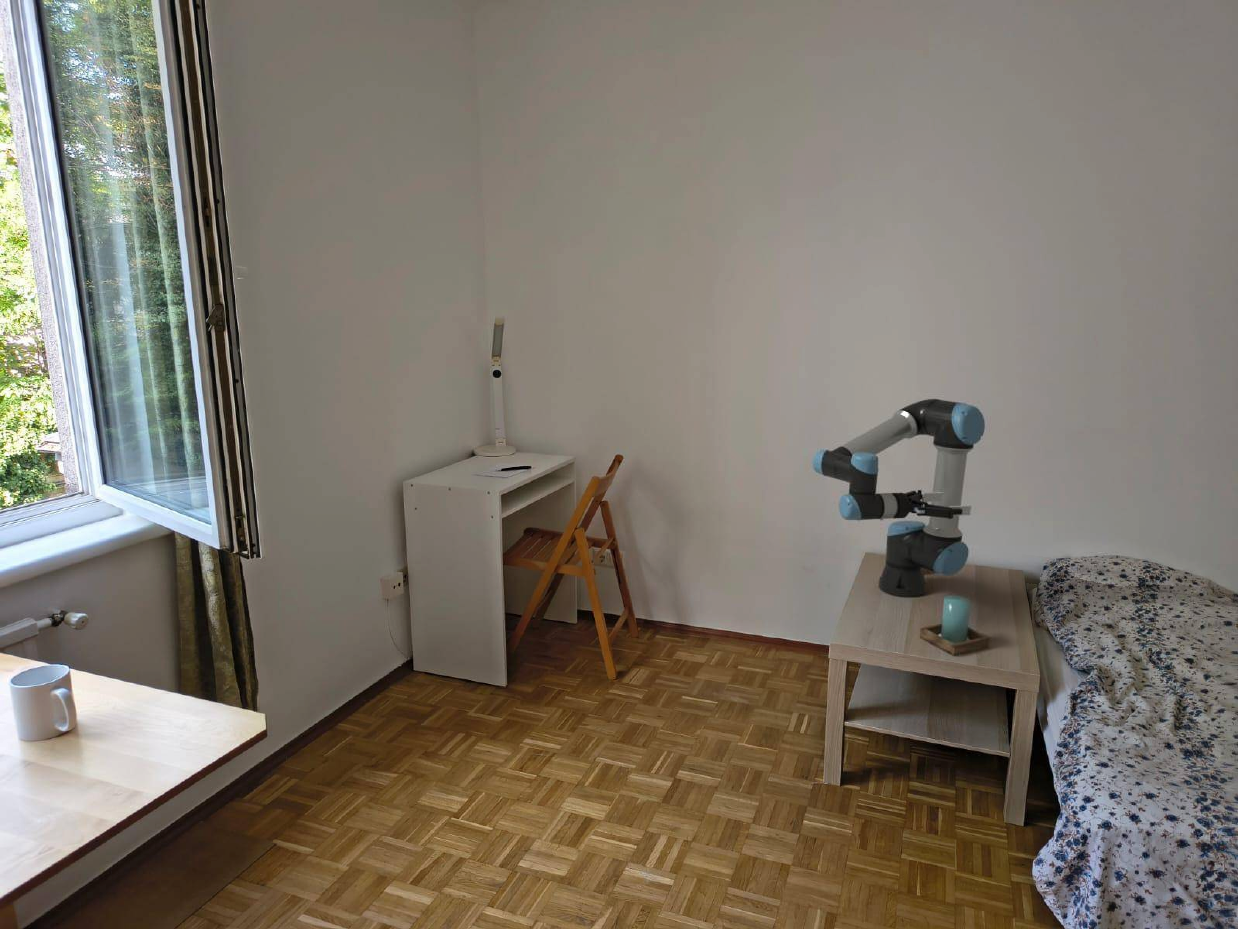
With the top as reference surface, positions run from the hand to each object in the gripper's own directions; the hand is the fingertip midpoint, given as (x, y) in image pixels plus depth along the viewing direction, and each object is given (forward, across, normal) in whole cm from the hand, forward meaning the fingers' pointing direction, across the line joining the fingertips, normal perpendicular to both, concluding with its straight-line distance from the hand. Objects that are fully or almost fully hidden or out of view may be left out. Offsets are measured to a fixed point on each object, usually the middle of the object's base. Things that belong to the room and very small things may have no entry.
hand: (956, 503), depth 253 cm
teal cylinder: (-7, +17, -36) cm, 40 cm away
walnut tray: (-7, +17, -37) cm, 41 cm away
